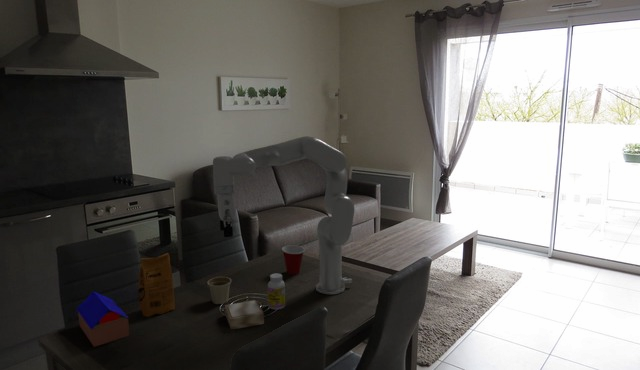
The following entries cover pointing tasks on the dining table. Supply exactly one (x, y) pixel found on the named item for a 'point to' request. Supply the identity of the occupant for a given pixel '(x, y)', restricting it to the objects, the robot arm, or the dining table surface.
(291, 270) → the plastic cup
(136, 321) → the dining table surface
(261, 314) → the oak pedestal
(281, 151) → the robot arm
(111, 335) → the house
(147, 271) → the coffee package
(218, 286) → the flower pot
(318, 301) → the dining table surface
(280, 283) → the supplement bottle
